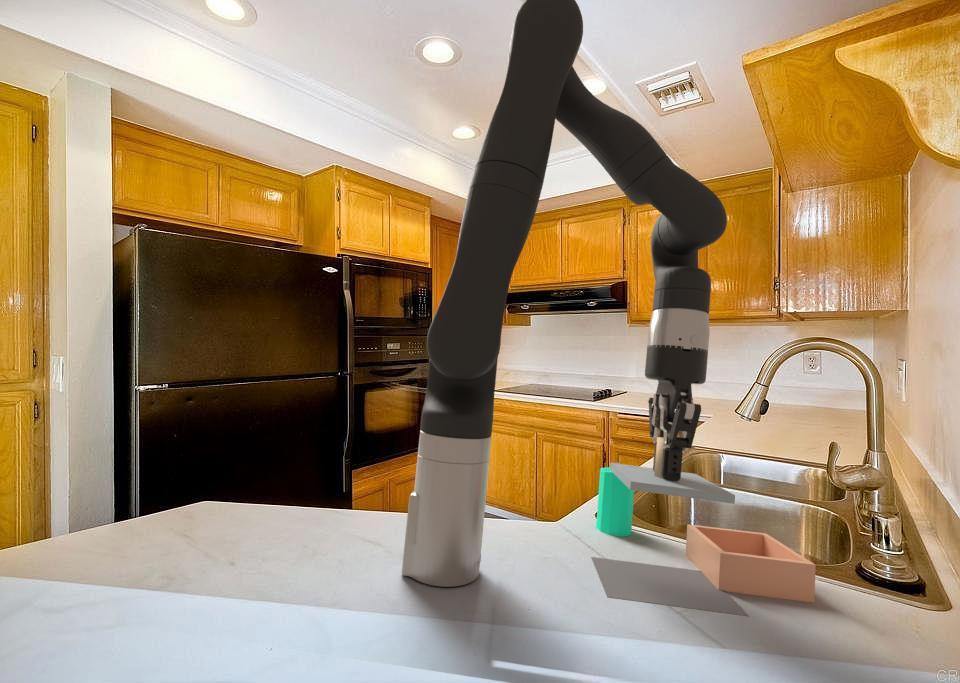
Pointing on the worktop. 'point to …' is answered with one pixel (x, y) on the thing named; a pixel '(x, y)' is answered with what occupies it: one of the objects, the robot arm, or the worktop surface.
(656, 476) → the lid
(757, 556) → the dish
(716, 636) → the worktop surface
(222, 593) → the worktop surface
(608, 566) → the mat
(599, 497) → the candle
